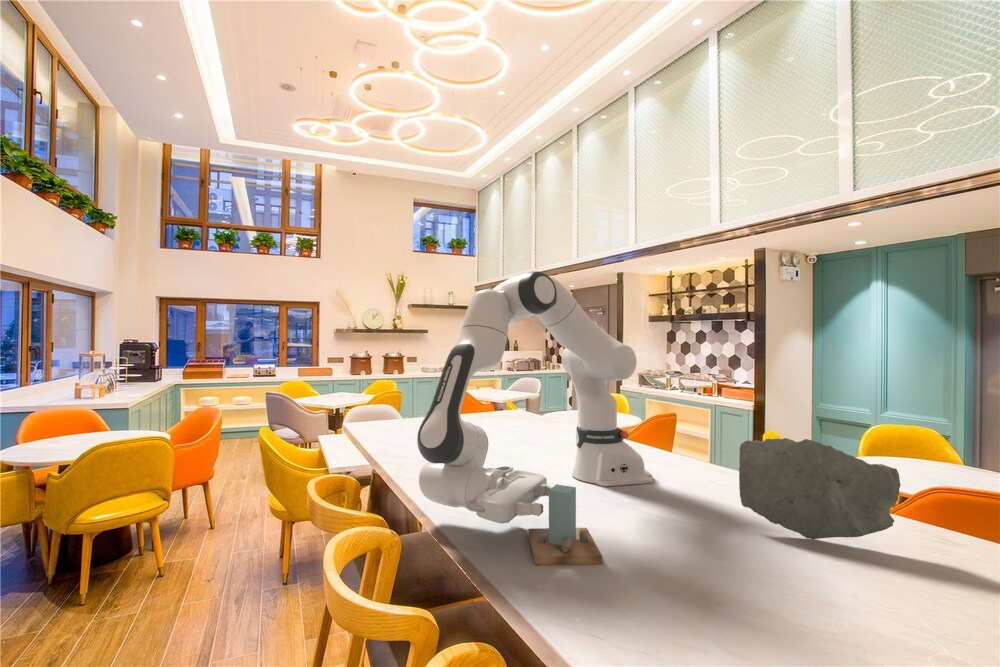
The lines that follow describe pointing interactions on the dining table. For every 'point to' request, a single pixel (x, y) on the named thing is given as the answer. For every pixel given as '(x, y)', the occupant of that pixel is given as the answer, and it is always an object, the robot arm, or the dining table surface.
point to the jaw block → (562, 514)
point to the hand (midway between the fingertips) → (551, 502)
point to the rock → (816, 488)
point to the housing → (564, 548)
